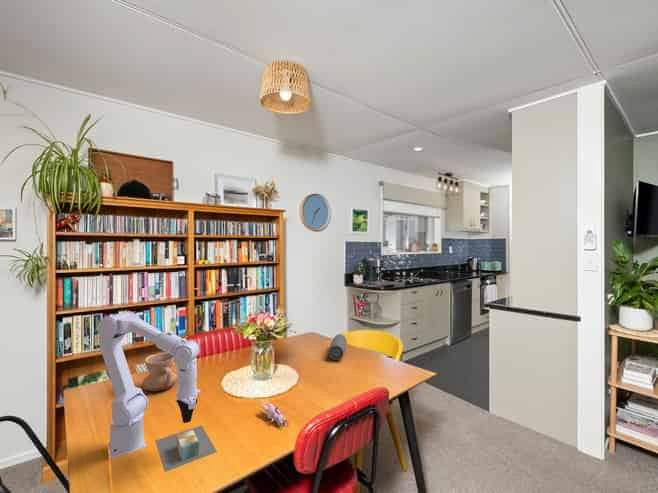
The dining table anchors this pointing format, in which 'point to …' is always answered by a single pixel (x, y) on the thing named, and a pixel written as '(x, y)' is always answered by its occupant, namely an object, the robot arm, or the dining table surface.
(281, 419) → the rabbit figure
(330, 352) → the bluetooth speaker
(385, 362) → the dining table surface
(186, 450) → the maple block
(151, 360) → the ceramic jug
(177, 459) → the rubber mat
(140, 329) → the robot arm
